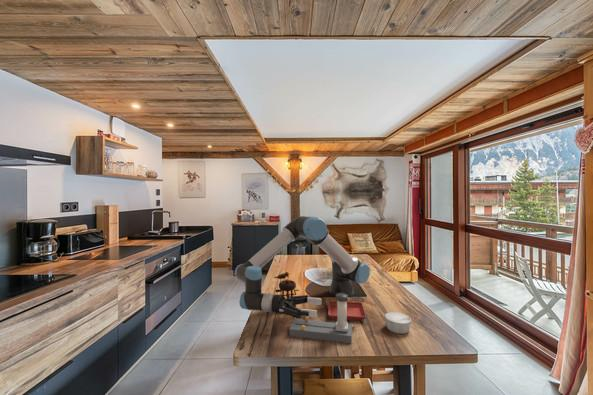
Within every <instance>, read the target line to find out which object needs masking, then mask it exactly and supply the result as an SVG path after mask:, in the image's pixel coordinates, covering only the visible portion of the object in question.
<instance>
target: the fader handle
mask: <svg viewBox="0 0 593 395" xmlns="http://www.w3.org/2000/svg"><path fill="white" fill-rule="evenodd" d="M335 301H337V320H336V322H335V323H336V331H344V332H348V324H349V322H348V320H347V302H348V301H349V296H348V295H347V294H344V293H338V294H336V296H335Z"/></svg>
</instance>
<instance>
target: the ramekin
mask: <svg viewBox="0 0 593 395" xmlns="http://www.w3.org/2000/svg"><path fill="white" fill-rule="evenodd" d="M384 320H385V324H386V328H387V329H388V330H389V332H392V333H396V334H398V335H399V334H401V335H402V334H408V333H409V332H410V328H411V323H412V318H411V317H410V316H409V315H407V314H404V313H403V312H402V313H401V312H397V311H395V312H394V311H391V312H387V313H385V314H384Z"/></svg>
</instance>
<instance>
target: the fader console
mask: <svg viewBox="0 0 593 395" xmlns="http://www.w3.org/2000/svg"><path fill="white" fill-rule="evenodd" d="M309 318H310V317H306V316H305V319H301V318H300V319H299V318H294V319H293V322H292V324H291V326H290V327H289V336H290V337H295V338H303V339H311V340H312V339H313V340H320V341H327V342H328V341H329V342H337V343H344V344H352V338H353V335H352V334H353V327H352V326H353V325H352V324H350V323H348V332H344V331H336V323H337V322H330V321H329V322H328V321H322V320H321V321H320V320H310V319H309Z"/></svg>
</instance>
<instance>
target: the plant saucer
mask: <svg viewBox="0 0 593 395" xmlns="http://www.w3.org/2000/svg"><path fill="white" fill-rule="evenodd" d="M327 315H328V317H329V318H330V319H331V320H335V321H337V300H335V301H334V300H333V301H332V300H329V301H328V312H327ZM366 317H367V315H366V311H365V308H364V305H363V302H359V301H357V302H356V301H355V302H354V301H347V321H352V322H353V321H355V322H362V321H364V319H366Z"/></svg>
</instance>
